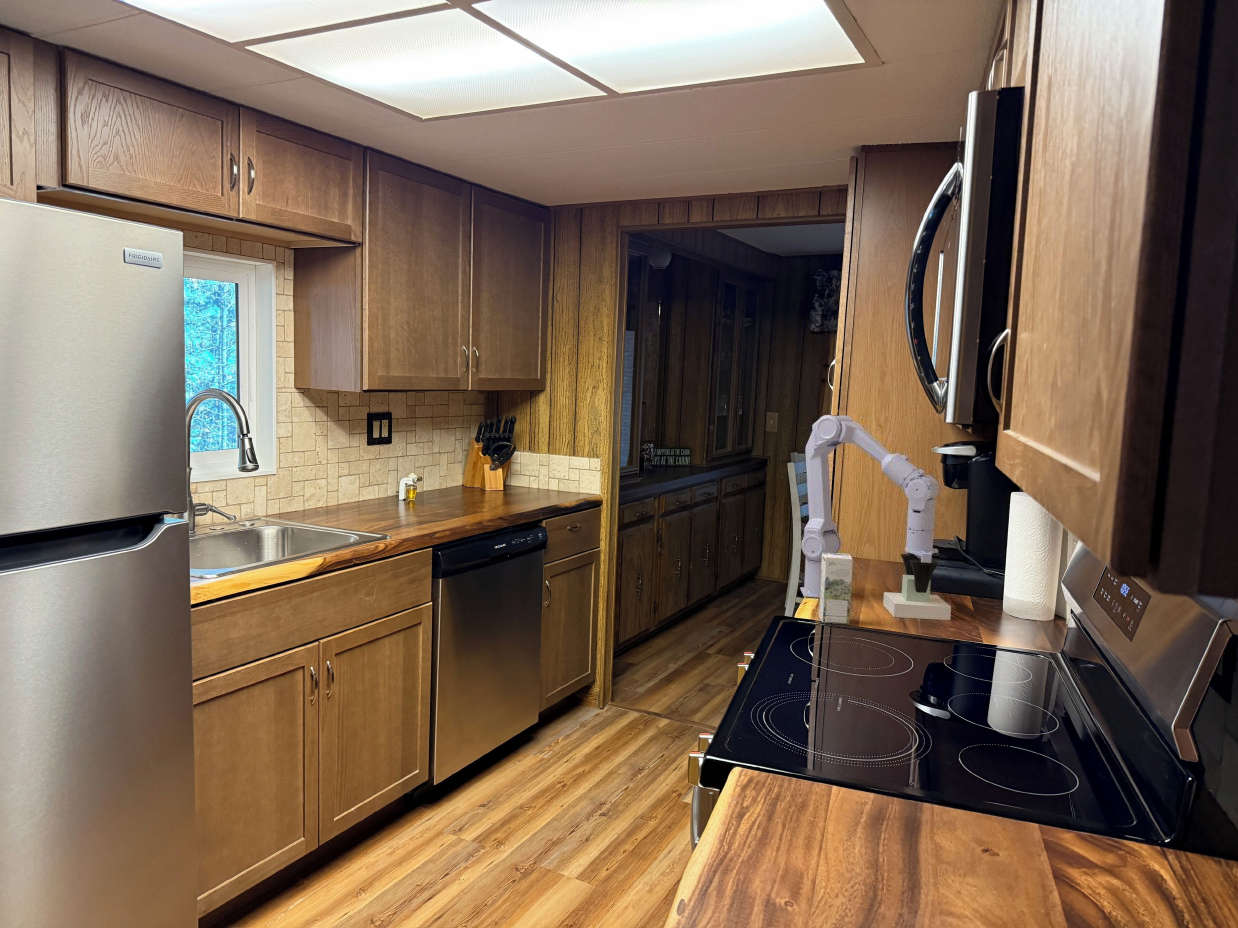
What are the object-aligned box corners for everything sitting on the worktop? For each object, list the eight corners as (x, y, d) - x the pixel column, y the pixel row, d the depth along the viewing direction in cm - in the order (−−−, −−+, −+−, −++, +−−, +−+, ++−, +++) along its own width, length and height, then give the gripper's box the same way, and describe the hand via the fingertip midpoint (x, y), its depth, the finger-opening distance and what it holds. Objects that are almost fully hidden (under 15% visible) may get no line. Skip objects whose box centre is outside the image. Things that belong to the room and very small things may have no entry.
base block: (883, 604, 200) (883, 592, 200) (936, 607, 199) (936, 594, 199) (894, 616, 188) (894, 603, 188) (950, 620, 187) (951, 606, 187)
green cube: (901, 596, 196) (902, 574, 196) (924, 597, 195) (925, 575, 195) (906, 600, 191) (907, 578, 191) (929, 602, 190) (930, 580, 190)
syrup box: (845, 618, 185) (848, 552, 184) (849, 625, 180) (853, 557, 179) (818, 617, 186) (821, 551, 185) (822, 623, 180) (825, 555, 179)
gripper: (947, 534, 185) (943, 596, 185) (930, 525, 199) (927, 583, 200) (913, 533, 185) (910, 594, 186) (899, 524, 200) (896, 581, 201)
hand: (916, 588), depth 193 cm, fingers open, 7 cm apart
